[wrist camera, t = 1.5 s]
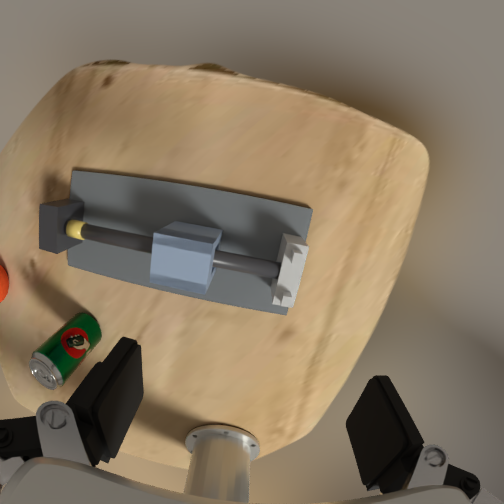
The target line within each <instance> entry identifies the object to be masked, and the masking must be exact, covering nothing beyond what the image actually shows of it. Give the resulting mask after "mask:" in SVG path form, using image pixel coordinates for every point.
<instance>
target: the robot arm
mask: <svg viewBox="0 0 504 504" xmlns="http://www.w3.org/2000/svg"><path fill="white" fill-rule="evenodd" d="M143 393H144V390H143V376H142V357H141V346H140V345H138V344H137V341H136V340H133V339H130V338H126V337H122V338H121V339H120V340H119V342H118V343H117V344H116V345H115V347H114V348H113V349H112V351H111V352H110V353H109V355H108V356H107V357H106V358H105V360H104V361H103V362H97V363H96V364H95V365H94V367H93V368H92V369H91V371H90V372H89V373H88V375H87V376H86V377H85V379H84V380H83V381H82V382H81V384H80V385H79V386H78V388H77V389H76V391H75V392H74V393H73V395H72V396H71V397H70V399H69V400H68V401H67V403H66V404H64V403H63V402H59V401H48V402H45V403H43V404H42V405H41V406H40V407H39V408H38V410H37V412H36V416H31V417H23V418H15V419H5V420H0V504H257V503H249V475H250V462H251V461H252V460H254V459H255V458H256V457H257V456H258V455H259V452H260V445H259V442H258V441H257V439H256V438H255V437H254V436H253V435H251V434H250V433H248V432H246V431H244V430H241V429H238V428H235V427H231V426H225V425H206V426H201V427H197V428H195V429H193V430H191V431H190V432H189V433H188V434H187V437H186V440H185V445H186V448H187V449H188V451H189V452H190V453H191V454H192V456H191V461H190V465H189V470H188V475H187V479H186V484H185V489H184V493H178V492H174V491H170V490H166V489H162V488H158V487H155V486H151V485H147V484H143V483H140V482H137V481H134V480H131V479H128V478H125V477H122V476H119V475H116V474H113V473H110V472H107V471H104V470H101V469H99V468H97V467H96V465H98V464H99V461H100V460H101V461H104V462H106V463H108V462H109V460H110V458H115V457H116V455H117V453H118V451H119V448H120V446H121V444H122V442H123V440H124V437H125V435H126V433H127V431H128V429H129V426H130V424H131V422H132V420H133V418H134V416H135V413H136V411H137V409H138V407H139V405H140V403H141V401H142V398H143ZM346 428H347V431H348V435H349V438H350V442H351V445H352V448H353V452H354V455H355V458H356V462H357V466H358V469H359V473H360V476H361V480H362V483H363V485H366V488H367V491H370V490H375V489H379V488H380V491H381V492H380V494H379V495H377V496H371V497H366V498H360V499H353V500H345V501H337V502H327V503H312V504H504V503H503V502H502V501H500V500H499V499H498V498H496V497H495V496H494V495H492V494H491V493H490V492H488V491H487V490H485V489H484V488H482V489H480V481H479V480H478V478H477V477H476V476H475V475H474V474H472V473H469V472H467V471H464V470H462V469H460V468H457V467H455V466H452V465H450V464H448V463H449V457H448V454H447V452H446V451H445V450H444V449H443V448H442V447H440V446H438V445H427V446H425V447H423V445H422V444H423V443H424V441H423V439H422V437H421V435H420V433H419V431H418V429H417V427H416V425H415V423H414V421H413V420H412V418H411V416H410V414H409V412H408V410H407V408H406V407H405V405H404V403H403V401H402V399H401V398H400V396H399V394H398V393H397V391H396V389H395V387H394V385H393V383H392V382H391V380H390V378H389V377H388V376H377V375H376V376H374V377H373V378H372V379H370V380H369V381H368V383H367V385H366V387H365V389H364V391H363V393H362V394H361V396H360V398H359V400H358V402H357V403H356V405H355V407H354V409H353V410H352V412H351V414H350V415H349V417H348V419H347V421H346ZM6 483H7V484H6ZM4 484H6V486H5V487H4V489H3V490H2V492H1V489H2V486H3V485H4Z"/></svg>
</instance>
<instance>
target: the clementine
mask: <svg viewBox="0 0 504 504" xmlns="http://www.w3.org/2000/svg"><path fill="white" fill-rule="evenodd" d="M8 288H9V281H8V276H7V273H6V271H5V270H4V268H3V267H2V266H1V265H0V302H2V301H3V300H4V298H5V297H6V295H7V293H8Z"/></svg>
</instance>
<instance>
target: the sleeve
mask: <svg viewBox="0 0 504 504" xmlns="http://www.w3.org/2000/svg"><path fill="white" fill-rule="evenodd" d="M222 232H223V230H221V229H216V228H210V227H205V226H200V225H195V224H189V223H184V222H179V221H174V222H173V223H171V224H169V225H167V226H165V227H163V228H161V229H160V230H158V231H156V232H154V236H153V245H152V256H151V268H150V283H154V284H159V285H163V286H167V287H172V288H176V289H180V290H185V291H190V292H194V293H199V294H204V295H205V294H206V292H207V290H208V287H209V285H210V283H211V281H212V278H213V276H214V274H215V272H216V267H212V266H213V260H214V254H215V250H219V249H220V243H221V238H222Z"/></svg>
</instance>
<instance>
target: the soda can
mask: <svg viewBox="0 0 504 504" xmlns="http://www.w3.org/2000/svg"><path fill="white" fill-rule="evenodd" d="M101 337H102V334H101V329H100V326H99V324H98V323H97V321H96V320H95V319H94V318H93V317H92V316H90V315H88V314H86V313H77V314H76V315H75V316H73V317H72V318H71V319H70V320H69V321H68V322H67V323H65V324H64V325H63V326H62V327H61V328H60V329H58V330H57V331H56V332H55V333H54V334H53V335H52V336H51V337H49V338H48V339H47V340H46V341H45V342H44V343H43V344H42V345H41V346H40V347H38V348H37V349H36V350H35V351H34V352H33V353H32V357H31V359H30V361H29V366H30V369H31V372H32V373H33V375H34V377H35V378H36V379H37V380H38V381H39V382H40V383H41V384H42V385H43V386H45V387H46V388H48V389H51V390H54V389H56V388H57V387H61V386H63V385H64V383H65V382H66V381H67V380H68V378H69V377H70V376H71V375H72V374H73V372H74V371H75V370H76V369H77V367H78V366H79V365H80V364H81V363H82V362H83V360H84V359H85V358H86V357H87V356H88V354H89V353H90V352H91V351H92V350H93V349H94V347H95V346H96V345H97V344H98V343H99V342H100V340H101Z"/></svg>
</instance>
